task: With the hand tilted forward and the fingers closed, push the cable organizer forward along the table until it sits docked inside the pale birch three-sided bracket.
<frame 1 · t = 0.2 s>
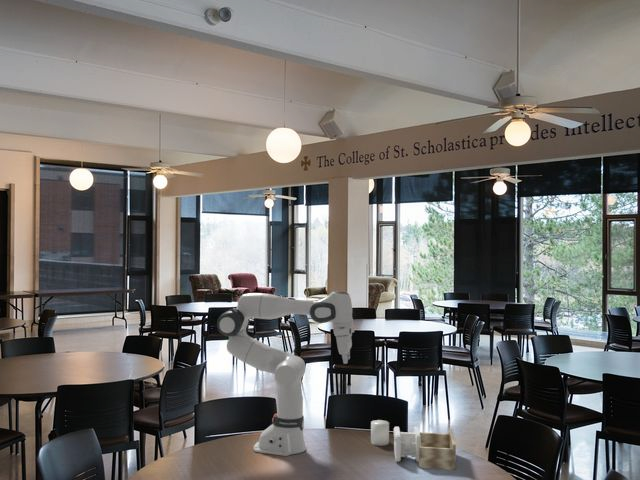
hand: (346, 361, 259), 39 cm above the table, tool pointing down, fingers open, 8 cm apart
mug: (379, 442, 272), on the table
cable organizer: (406, 458, 253), on the table
bracket: (430, 459, 251), on the table
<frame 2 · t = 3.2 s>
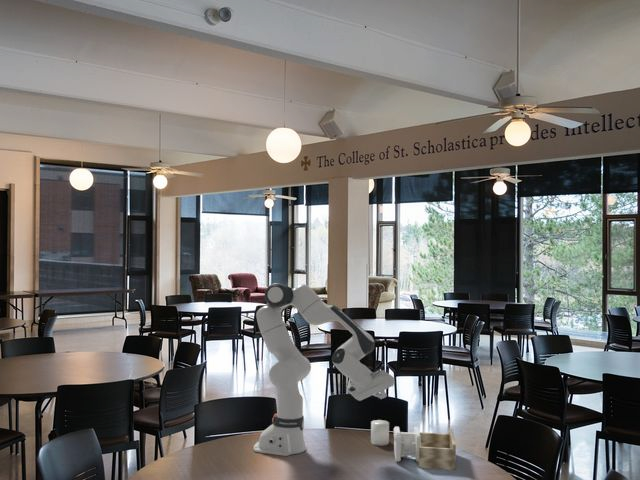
hand: (384, 396, 260), 24 cm above the table, tool tilted 50°, fingers closed
nothing on the table moved.
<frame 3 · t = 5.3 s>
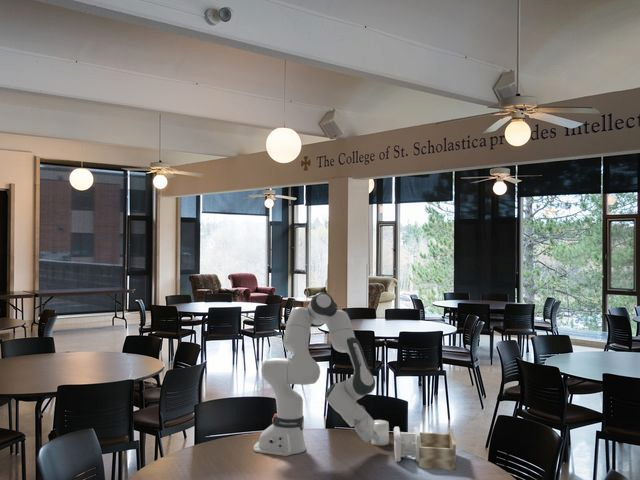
hand: (378, 440, 256), 6 cm above the table, tool tilted 45°, fingers closed
nothing on the table moved.
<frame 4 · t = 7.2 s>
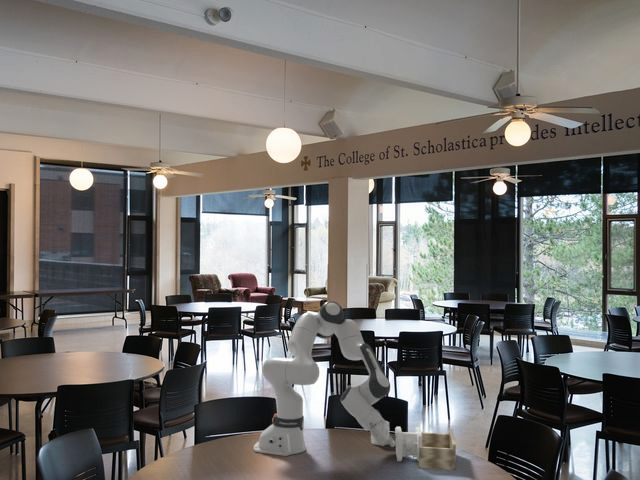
hand: (394, 445, 254), 5 cm above the table, tool tilted 45°, fingers closed
cable organizer: (408, 458, 253), on the table, touching gripper
everything else where it was.
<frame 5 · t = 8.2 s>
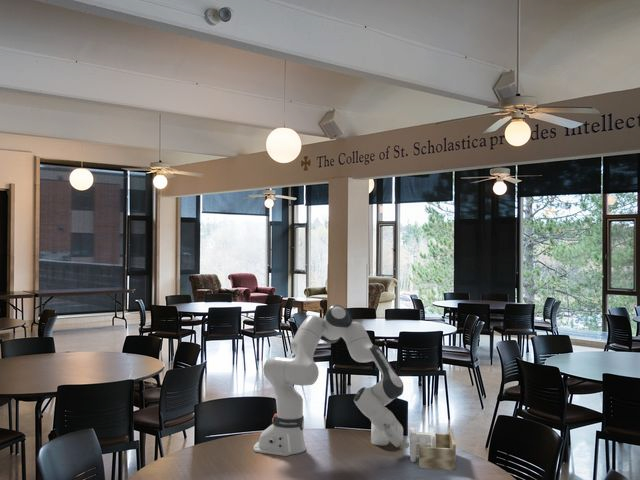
hand: (408, 446, 253), 5 cm above the table, tool tilted 45°, fingers closed
cable organizer: (422, 459, 252), on the table, touching gripper
everything else where it was.
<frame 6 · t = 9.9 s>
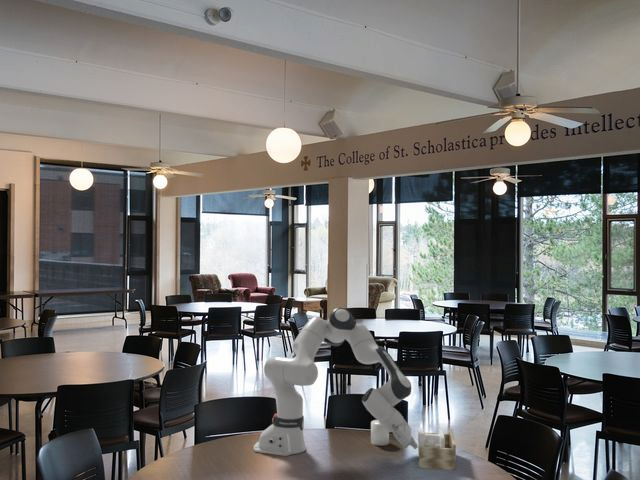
hand: (416, 446, 252), 5 cm above the table, tool tilted 45°, fingers closed
cable organizer: (430, 460, 251), on the table
everything else where it was.
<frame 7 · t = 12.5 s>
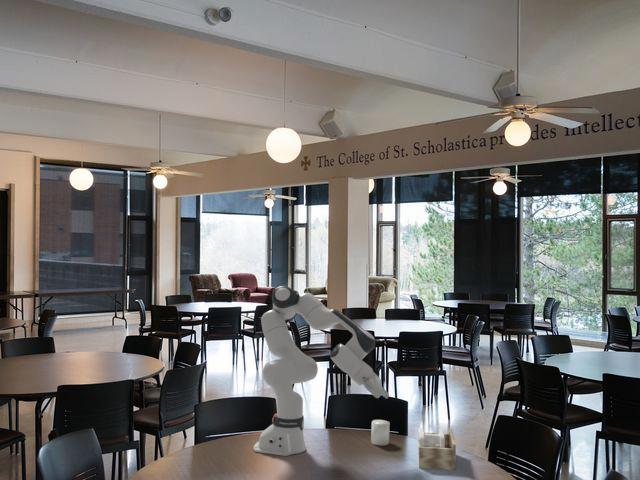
hand: (387, 396, 256), 25 cm above the table, tool tilted 50°, fingers closed
nothing on the table moved.
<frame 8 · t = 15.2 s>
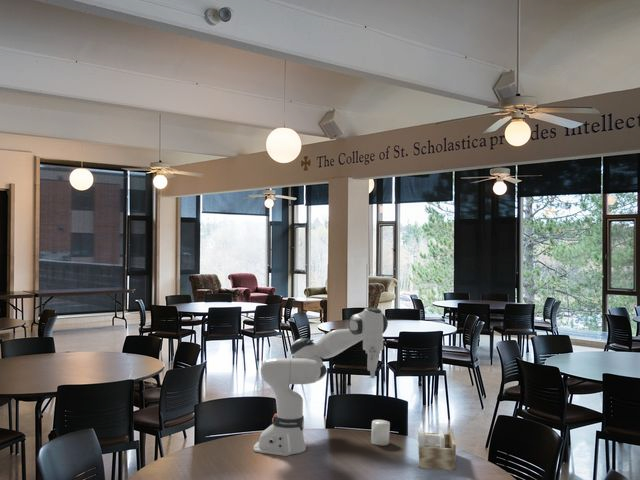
hand: (372, 377, 263), 31 cm above the table, tool pointing down, fingers closed
nothing on the table moved.
at the end: cable organizer inside the target area (1.6 cm from its centre), on the table; cable organizer tilted 0°; cable organizer moved 9.9 cm from its start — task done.
